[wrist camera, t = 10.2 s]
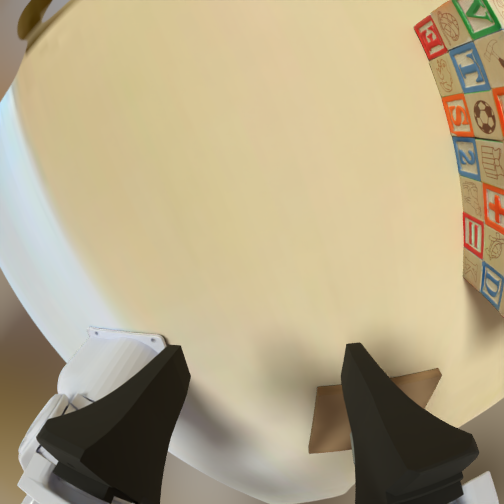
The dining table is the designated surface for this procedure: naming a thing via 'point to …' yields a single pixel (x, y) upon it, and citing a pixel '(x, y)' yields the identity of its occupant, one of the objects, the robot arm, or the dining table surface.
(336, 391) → the walnut board
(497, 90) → the stack of blocks
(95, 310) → the dining table surface
